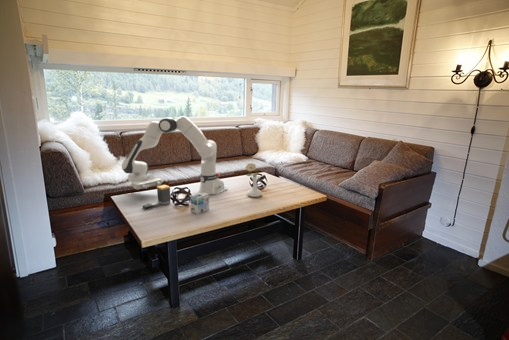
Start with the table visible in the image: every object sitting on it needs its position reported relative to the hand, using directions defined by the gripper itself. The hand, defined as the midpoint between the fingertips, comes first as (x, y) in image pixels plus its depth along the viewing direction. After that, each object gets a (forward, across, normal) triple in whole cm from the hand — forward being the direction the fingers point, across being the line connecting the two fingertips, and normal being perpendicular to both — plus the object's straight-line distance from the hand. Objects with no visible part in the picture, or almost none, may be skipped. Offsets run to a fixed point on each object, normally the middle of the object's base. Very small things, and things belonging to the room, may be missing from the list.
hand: (153, 185), depth 212 cm
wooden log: (+12, 0, +8) cm, 14 cm away
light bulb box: (+39, +9, +10) cm, 41 cm away
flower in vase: (+45, +55, +10) cm, 72 cm away
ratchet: (+12, -5, +10) cm, 16 cm away
